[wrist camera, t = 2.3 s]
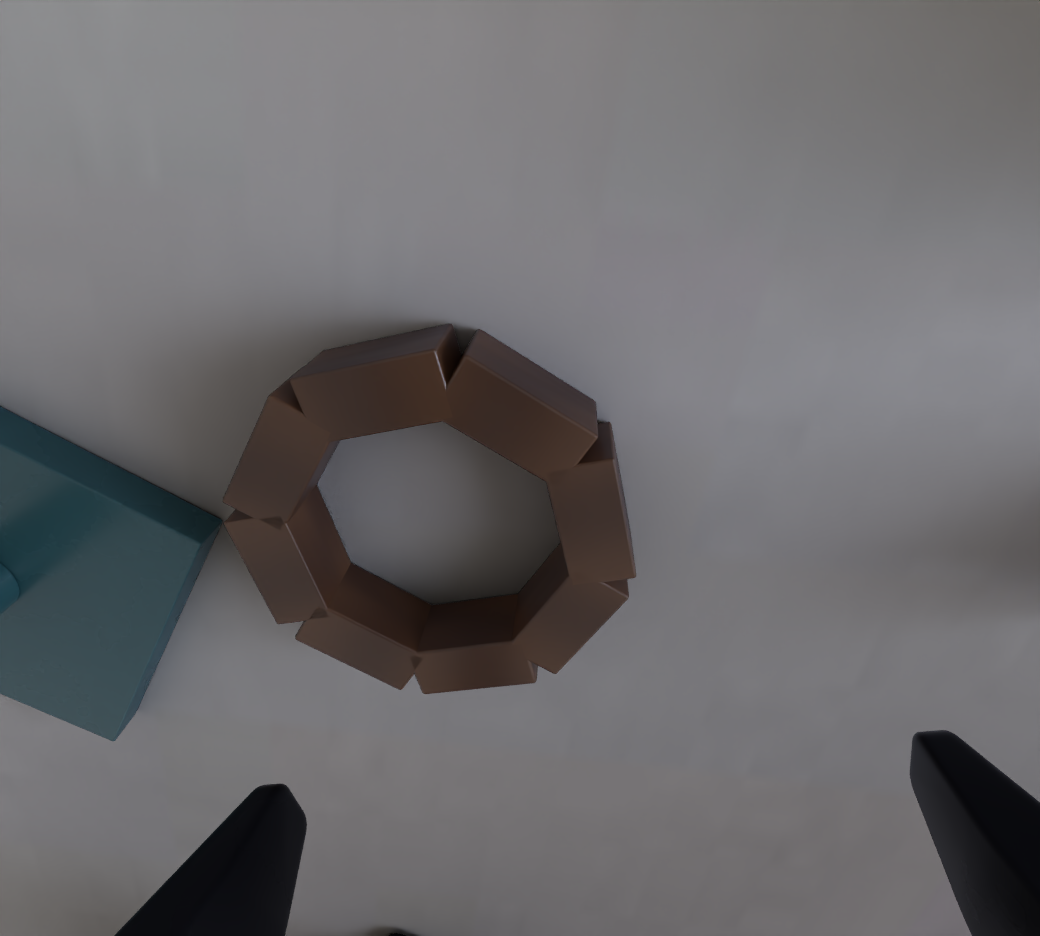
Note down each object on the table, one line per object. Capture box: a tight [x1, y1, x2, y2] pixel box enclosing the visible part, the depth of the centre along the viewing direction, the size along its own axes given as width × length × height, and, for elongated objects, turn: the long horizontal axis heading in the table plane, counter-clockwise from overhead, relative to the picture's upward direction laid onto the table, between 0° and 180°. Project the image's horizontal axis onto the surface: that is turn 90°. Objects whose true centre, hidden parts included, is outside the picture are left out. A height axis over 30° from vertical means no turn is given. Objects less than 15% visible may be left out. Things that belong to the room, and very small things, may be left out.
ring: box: [223, 324, 636, 694], centre depth 16 cm, size 10×10×2 cm
